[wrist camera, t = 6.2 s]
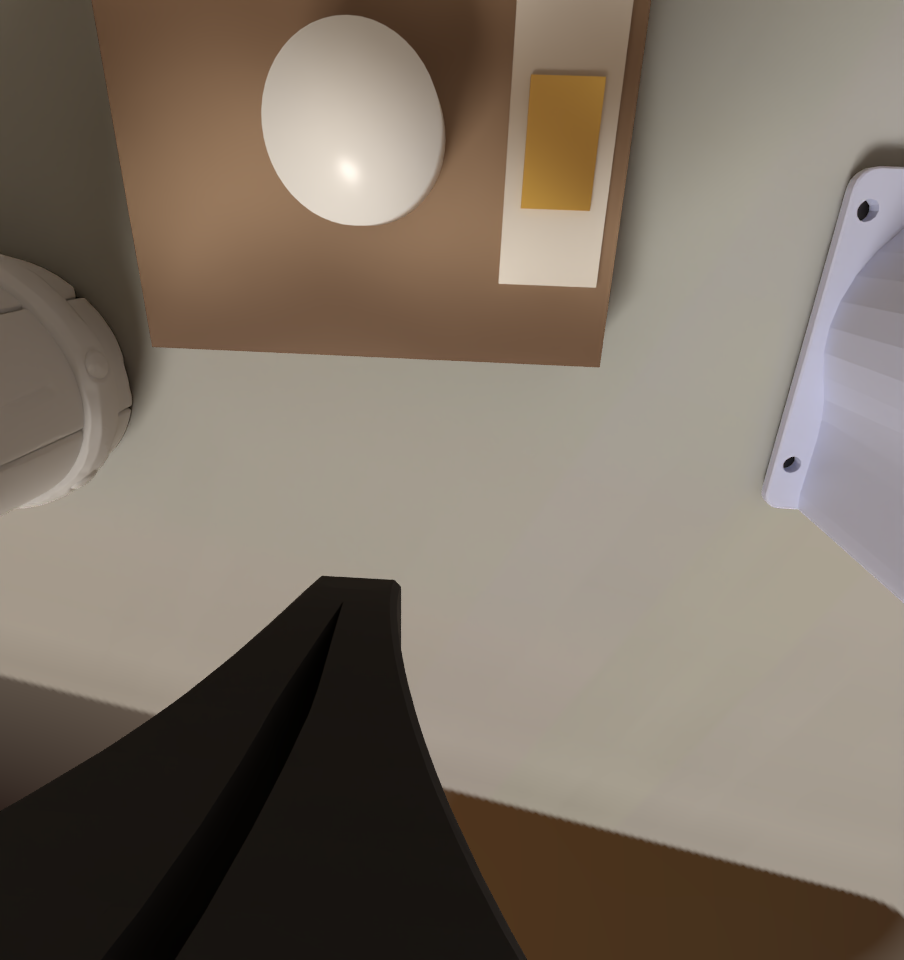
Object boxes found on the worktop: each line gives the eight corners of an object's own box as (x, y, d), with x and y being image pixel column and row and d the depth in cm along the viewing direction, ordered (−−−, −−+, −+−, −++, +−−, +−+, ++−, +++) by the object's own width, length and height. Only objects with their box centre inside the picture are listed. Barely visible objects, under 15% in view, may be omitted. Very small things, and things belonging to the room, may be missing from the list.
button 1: (443, 228, 14) (438, 228, 12) (292, 222, 14) (269, 222, 12) (448, 42, 12) (443, 17, 11) (279, 38, 12) (252, 11, 11)
